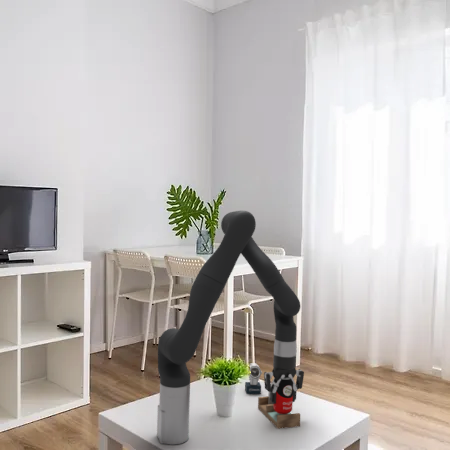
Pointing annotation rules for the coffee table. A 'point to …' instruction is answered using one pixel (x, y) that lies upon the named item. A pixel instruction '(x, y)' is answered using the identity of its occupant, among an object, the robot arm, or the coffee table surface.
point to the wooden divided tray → (277, 414)
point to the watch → (253, 380)
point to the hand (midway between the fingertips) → (282, 401)
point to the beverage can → (284, 396)
